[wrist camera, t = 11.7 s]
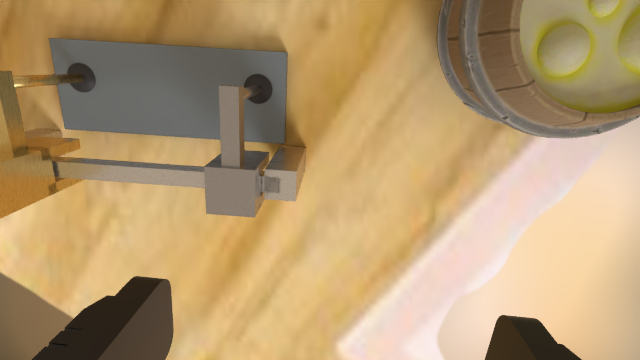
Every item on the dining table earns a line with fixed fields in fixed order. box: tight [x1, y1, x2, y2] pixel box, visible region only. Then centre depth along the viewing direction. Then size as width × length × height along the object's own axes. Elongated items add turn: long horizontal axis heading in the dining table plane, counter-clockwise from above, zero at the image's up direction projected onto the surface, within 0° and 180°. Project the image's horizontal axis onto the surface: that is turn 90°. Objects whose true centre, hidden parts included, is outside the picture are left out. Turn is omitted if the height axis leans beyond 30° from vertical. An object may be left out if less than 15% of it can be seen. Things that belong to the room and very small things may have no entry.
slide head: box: [0, 71, 85, 218], centre depth 33 cm, size 11×4×15 cm, turn 177°
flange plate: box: [49, 38, 288, 144], centre depth 40 cm, size 10×26×1 cm, turn 87°
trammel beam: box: [25, 84, 306, 217], centre depth 36 cm, size 11×33×12 cm, turn 87°
